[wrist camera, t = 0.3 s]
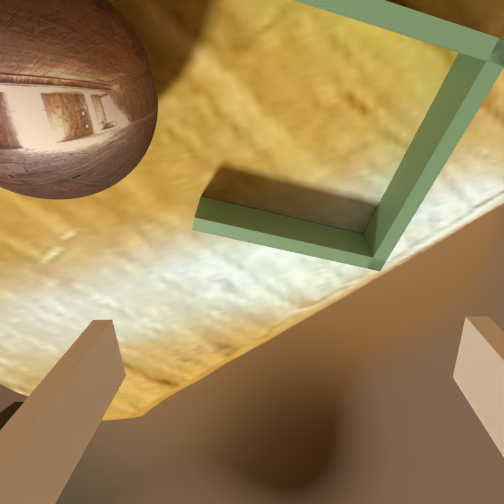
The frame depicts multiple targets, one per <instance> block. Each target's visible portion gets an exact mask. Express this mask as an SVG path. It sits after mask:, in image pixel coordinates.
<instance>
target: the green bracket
mask: <svg viewBox="0 0 504 504" xmlns="http://www.w3.org/2000/svg"><path fill="white" fill-rule="evenodd" d="M295 1H298V2H302V3H305V4H308V5H311V6H314V7H317V8H320V9H324V10H327V11H330V12H333V13H336V14H339V15H342V16H346V17H349V18H352V19H355V20H358V21H361V22H364V23H367V24H371V25H374V26H377V27H380V28H383V29H386V30H389V31H393V32H396V33H399V34H402V35H405V36H408V37H411V38H415V39H418V40H421V41H424V42H427V43H430V44H433V45H437V46H440V47H443V48H446V49H449V50H452V51H455V52H458V53H459V54H458V56H457V58H456V60H455V62H454V63H453V65H452V67H451V69H450V71H449V73H448V75H447V77H446V79H445V80H444V82H443V84H442V86H441V88H440V90H439V92H438V94H437V96H436V97H435V99H434V101H433V103H432V105H431V107H430V109H429V111H428V113H427V114H426V116H425V118H424V120H423V122H422V124H421V126H420V128H419V130H418V131H417V133H416V135H415V137H414V139H413V141H412V143H411V145H410V147H409V148H408V150H407V152H406V154H405V156H404V158H403V160H402V162H401V164H400V165H399V167H398V169H397V171H396V173H395V175H394V177H393V179H392V181H391V183H390V184H389V186H388V188H387V190H386V192H385V194H384V196H383V198H382V200H381V201H380V203H379V205H378V207H377V209H376V211H375V213H374V215H373V217H372V218H371V220H370V222H369V224H368V226H367V228H366V230H365V232H364V234H360V233H356V232H352V231H348V230H343V229H339V228H335V227H330V226H326V225H322V224H318V223H313V222H309V221H305V220H300V219H296V218H292V217H288V216H283V215H279V214H275V213H270V212H266V211H262V210H258V209H253V208H249V207H245V206H240V205H236V204H232V203H228V202H223V201H219V200H215V199H210V198H206V197H202V196H201V197H200V201H199V204H198V207H197V211H196V214H195V218H194V223H193V229H192V230H195V231H200V232H204V233H209V234H213V235H218V236H222V237H227V238H231V239H236V240H241V241H245V242H250V243H254V244H259V245H263V246H268V247H272V248H277V249H281V250H286V251H291V252H295V253H300V254H304V255H309V256H313V257H318V258H322V259H327V260H331V261H336V262H341V263H345V264H350V265H354V266H359V267H363V268H368V269H372V270H377V271H380V270H381V269H382V267H383V265H384V264H385V262H386V260H387V259H388V257H389V255H390V254H391V252H392V250H393V249H394V247H395V245H396V244H397V242H398V241H399V239H400V237H401V236H402V234H403V232H404V231H405V229H406V227H407V226H408V224H409V222H410V221H411V219H412V218H413V216H414V214H415V213H416V211H417V209H418V208H419V206H420V204H421V203H422V201H423V199H424V198H425V196H426V194H427V193H428V191H429V190H430V188H431V186H432V185H433V183H434V181H435V180H436V178H437V176H438V175H439V173H440V171H441V170H442V168H443V167H444V165H445V163H446V162H447V160H448V158H449V157H450V155H451V153H452V152H453V150H454V148H455V147H456V145H457V143H458V142H459V140H460V139H461V137H462V135H463V134H464V132H465V130H466V129H467V127H468V125H469V124H470V122H471V120H472V119H473V117H474V116H475V114H476V112H477V111H478V109H479V107H480V106H481V104H482V102H483V101H484V99H485V97H486V96H487V94H488V92H489V91H490V89H491V88H492V86H493V84H494V83H495V81H496V79H497V78H498V76H499V74H500V73H501V71H502V69H503V68H504V39H501V38H498V37H495V36H492V35H489V34H486V33H482V32H479V31H476V30H473V29H470V28H467V27H464V26H461V25H458V24H455V23H452V22H449V21H446V20H443V19H440V18H437V17H434V16H431V15H428V14H425V13H422V12H419V11H416V10H413V9H410V8H407V7H404V6H401V5H398V4H395V3H392V2H389V1H386V0H295Z"/></svg>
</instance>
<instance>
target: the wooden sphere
mask: <svg viewBox="0 0 504 504" xmlns="http://www.w3.org/2000/svg"><path fill="white" fill-rule="evenodd" d="M157 113H158V97H157V88H156V82H155V78H154V74H153V71H152V67H151V64H150V62H149V59H148V57H147V54H146V52H145V50H144V48H143V46H142V44H141V42H140V41H139V39H138V37H137V36H136V34H135V33H134V31H133V30H132V28H131V27H130V25H129V24H128V23H127V21H126V20H125V19H124V18H123V17H122V15H121V14H120V13H119V12H118V11H117V10H116V9H115V8H114V7H113V6H112V5H111V4H110V3H109V2H108V1H107V0H0V187H2V188H4V189H7V190H9V191H12V192H15V193H19V194H22V195H26V196H31V197H36V198H43V199H73V198H80V197H85V196H89V195H92V194H95V193H98V192H101V191H103V190H105V189H107V188H109V187H111V186H113V185H115V184H116V183H118V182H119V181H121V180H122V179H123V178H125V177H126V176H127V175H128V174H129V173H130V172H131V171H132V170H133V169H134V168H135V167H136V166H137V165H138V163H139V162H140V161H141V159H142V158H143V156H144V155H145V153H146V151H147V149H148V147H149V145H150V143H151V140H152V137H153V134H154V131H155V127H156V122H157Z"/></svg>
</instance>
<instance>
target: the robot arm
mask: <svg viewBox="0 0 504 504" xmlns="http://www.w3.org/2000/svg"><path fill="white" fill-rule="evenodd" d="M125 376H126V374H125V370H124V366H123V362H122V358H121V354H120V350H119V346H118V342H117V338H116V333H115V329H114V325H113V321H112V320H93V321H92V322H91V323H90V325H89V326H88V327H87V328H86V329H85V330H84V332H83V333H82V334H81V335H80V336H79V338H78V339H77V340H76V341H75V342H74V344H73V345H72V346H71V347H70V348H69V349H68V351H67V352H66V353H65V354H64V355H63V357H62V358H61V359H60V360H59V361H58V362H57V364H56V365H55V366H54V367H53V368H52V370H51V371H50V372H49V373H48V374H47V376H46V377H45V378H44V379H43V380H42V381H41V383H40V384H39V385H38V386H37V387H36V389H35V390H34V391H33V392H32V393H31V395H30V396H29V397H28V398H27V399H26V401H25V402H14V403H13V404H12V405H10V406H9V407H7V408H6V409H5V410H3V411H2V412H1V413H0V504H55V503H56V501H57V499H58V497H59V495H60V494H61V492H62V490H63V488H64V486H65V485H66V483H67V481H68V479H69V477H70V476H71V474H72V472H73V470H74V468H75V466H76V465H77V463H78V461H79V459H80V458H81V455H82V454H83V452H84V450H85V448H86V447H87V445H88V443H89V441H90V439H91V438H92V436H93V434H94V432H95V430H96V429H97V427H98V425H99V423H100V421H101V420H102V418H103V416H104V414H105V412H106V411H107V409H108V407H109V405H110V403H111V402H112V400H113V398H114V396H115V394H116V393H117V391H118V389H119V387H120V385H121V383H122V382H123V380H124V378H125ZM453 378H454V379H455V381H456V383H457V384H458V386H459V387H460V389H461V390H462V392H463V393H464V395H465V397H466V398H467V400H468V402H469V403H470V405H471V406H472V408H473V409H474V411H475V413H476V414H477V416H478V417H479V419H480V420H481V422H482V424H483V425H484V427H485V428H486V430H487V431H488V433H489V435H490V436H491V438H492V439H493V441H494V443H495V444H496V446H497V447H498V449H499V450H500V452H501V453H502V455H503V456H504V332H503V331H502V330H501V329H500V328H499V327H498V326H497V325H496V324H495V323H494V322H493V321H492V320H491V319H490V318H489V317H466V318H465V323H464V328H463V332H462V338H461V343H460V347H459V351H458V356H457V361H456V366H455V371H454V375H453Z"/></svg>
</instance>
